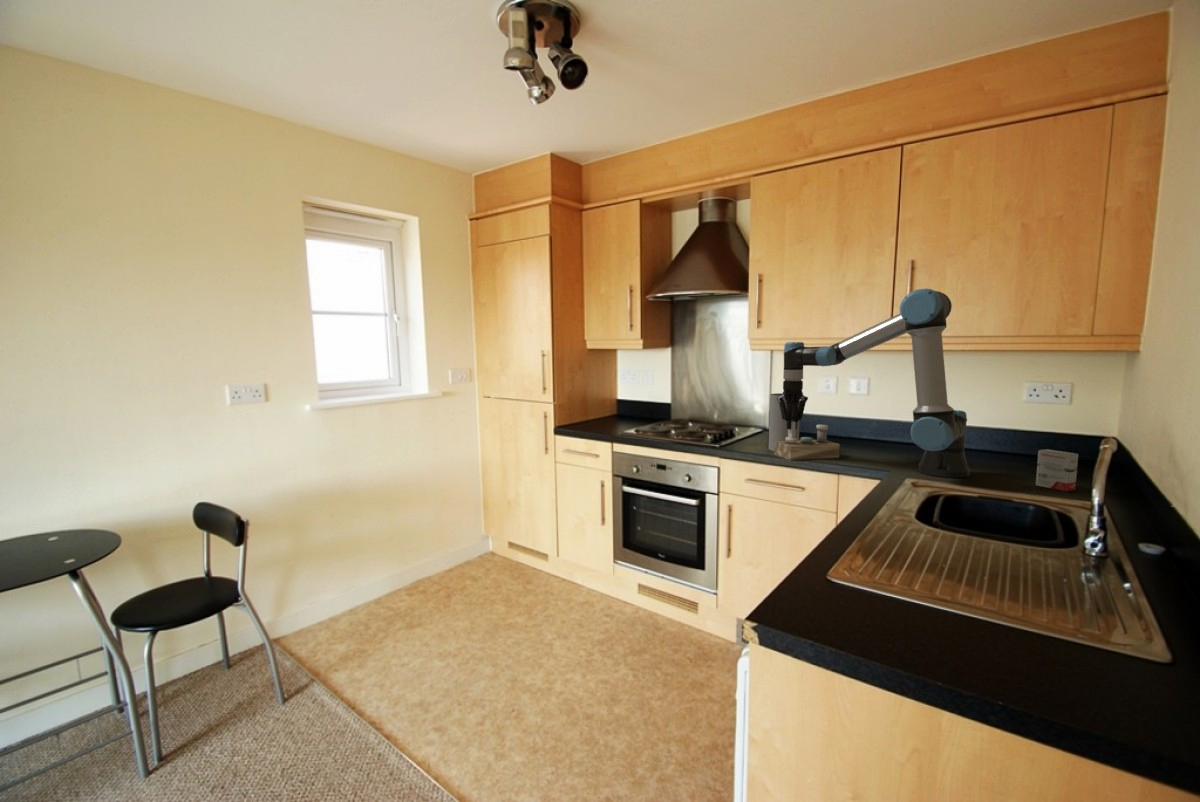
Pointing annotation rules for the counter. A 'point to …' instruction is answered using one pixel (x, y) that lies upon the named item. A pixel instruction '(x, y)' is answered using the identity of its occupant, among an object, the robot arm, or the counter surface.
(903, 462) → the counter surface
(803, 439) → the knob middle
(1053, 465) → the ink box
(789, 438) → the knob left
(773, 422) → the cylinder vase
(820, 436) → the knob right
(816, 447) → the mount
